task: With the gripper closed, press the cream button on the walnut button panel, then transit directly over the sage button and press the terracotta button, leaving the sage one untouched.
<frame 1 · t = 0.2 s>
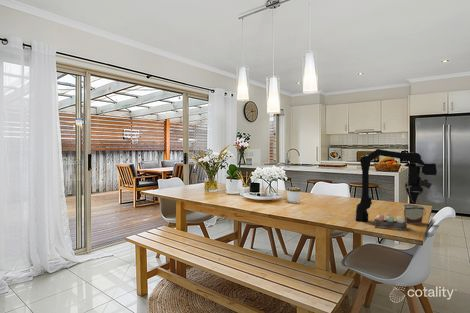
hand: (412, 201, 159), 14 cm above the table, fingers open, 9 cm apart
button sage: (390, 219, 156), point 4 cm above the table, slide at 0.0 cm
button panel: (389, 227, 156), on the table
button terracotta: (380, 218, 158), point 4 cm above the table, slide at 0.0 cm
food container: (410, 222, 167), on the table
button cream: (400, 220, 154), point 4 cm above the table, slide at 0.0 cm
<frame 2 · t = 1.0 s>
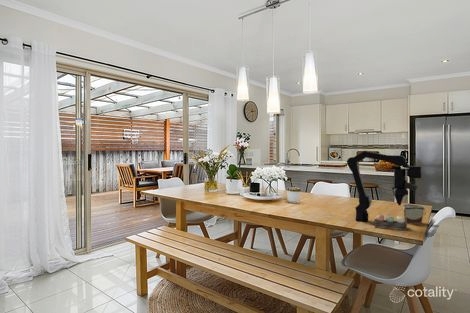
hand: (399, 204, 159), 12 cm above the table, fingers open, 3 cm apart
nothing on the table moved.
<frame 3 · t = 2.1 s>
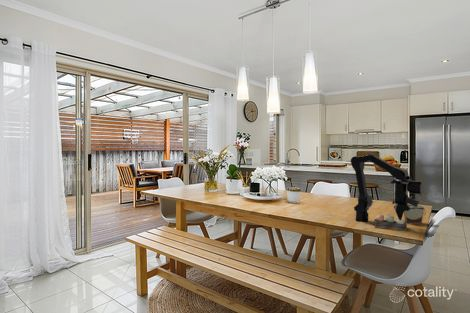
hand: (400, 219, 154), 5 cm above the table, fingers closed, pressing on button cream
button cream: (400, 222, 154), point 3 cm above the table, slide at 1.4 cm, touching gripper
everything else where it was.
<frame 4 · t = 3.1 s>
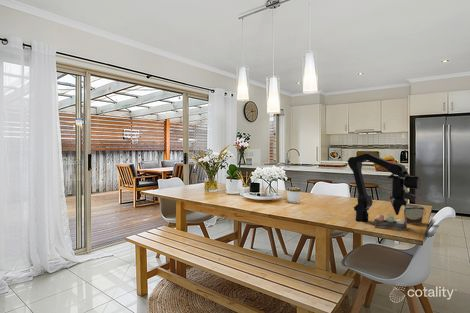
hand: (397, 214, 155), 7 cm above the table, fingers closed
button cream: (400, 223, 154), point 3 cm above the table, slide at 1.6 cm
everything else where it was.
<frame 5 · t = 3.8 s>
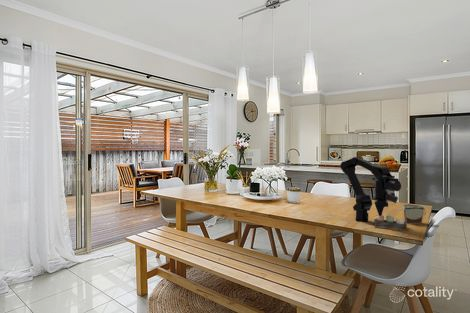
hand: (380, 215, 158), 6 cm above the table, fingers closed, pressing on button terracotta
button terracotta: (380, 218, 158), point 4 cm above the table, slide at 0.1 cm, touching gripper
everything else where it was.
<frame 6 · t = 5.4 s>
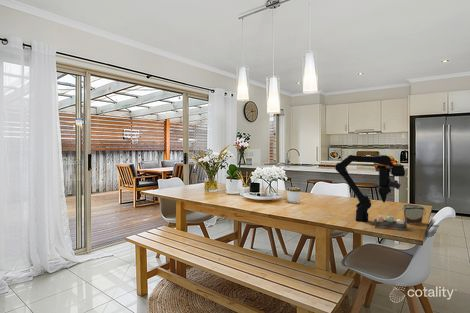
hand: (383, 202, 166), 12 cm above the table, fingers closed
button terracotta: (380, 221, 158), point 3 cm above the table, slide at 1.6 cm
everything else where it was.
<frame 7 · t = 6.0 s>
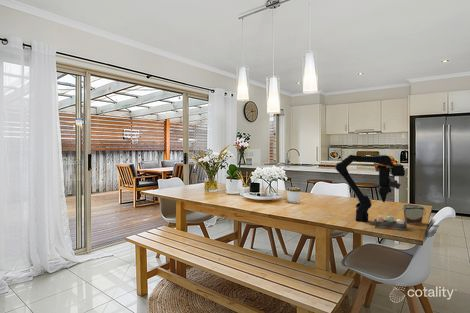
hand: (383, 201, 167), 12 cm above the table, fingers closed
nothing on the table moved.
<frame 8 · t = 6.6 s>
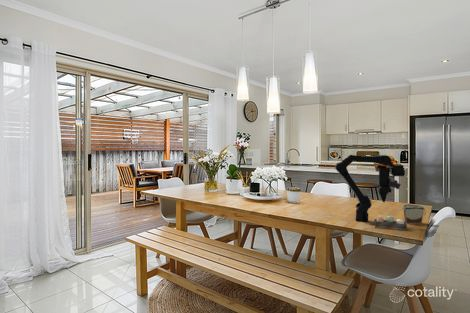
hand: (383, 201, 167), 12 cm above the table, fingers closed
nothing on the table moved.
at the end: button cream slide at 1.6 cm; button terracotta slide at 1.6 cm; button sage slide at 0.0 cm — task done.
